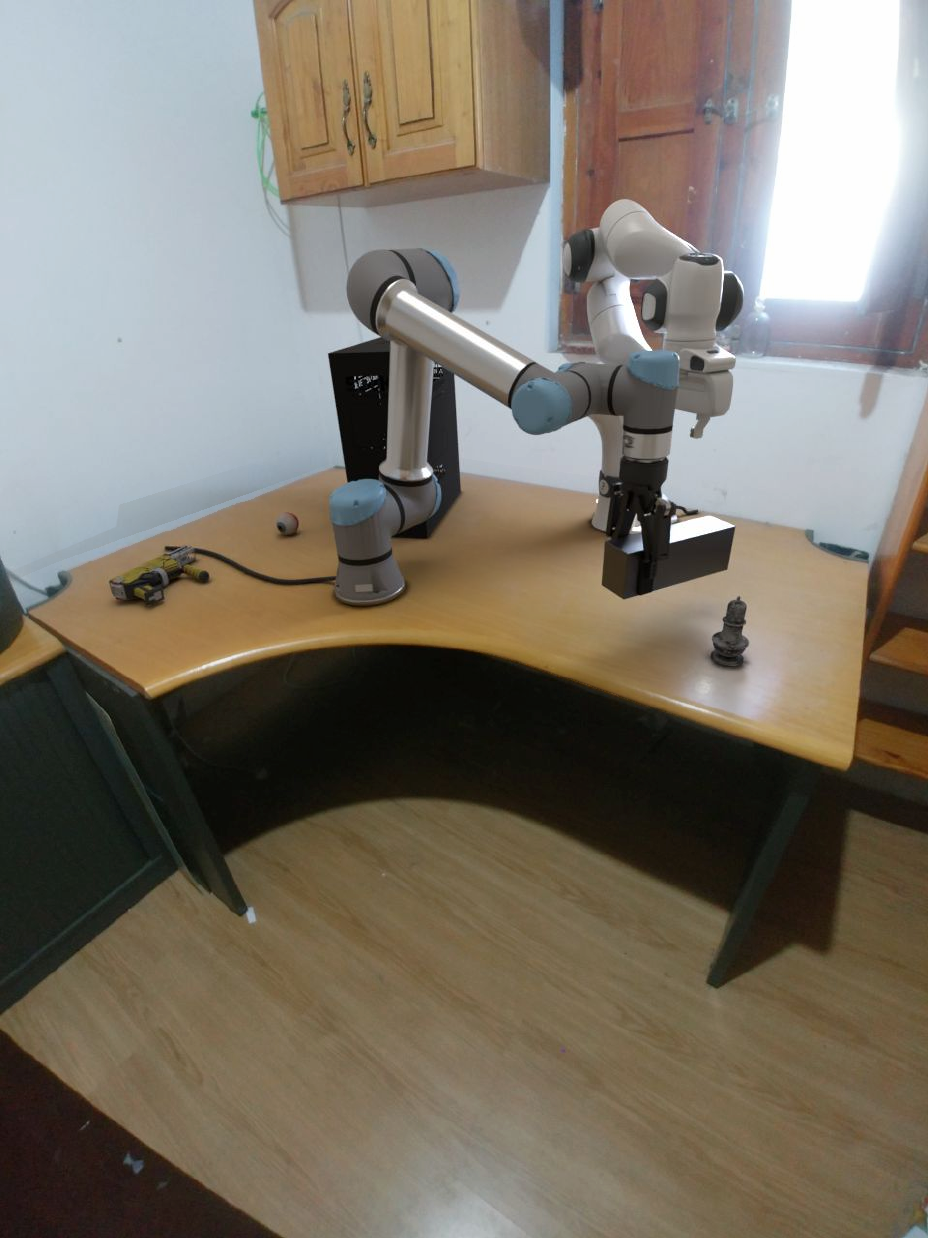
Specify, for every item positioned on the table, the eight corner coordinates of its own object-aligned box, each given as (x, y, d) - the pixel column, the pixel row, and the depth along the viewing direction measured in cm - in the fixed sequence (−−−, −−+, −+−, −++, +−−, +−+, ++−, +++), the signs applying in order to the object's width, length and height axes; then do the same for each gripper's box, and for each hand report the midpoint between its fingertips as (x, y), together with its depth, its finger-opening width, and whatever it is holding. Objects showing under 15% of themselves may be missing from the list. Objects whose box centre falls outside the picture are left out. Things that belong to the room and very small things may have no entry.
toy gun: (232, 553, 147) (182, 542, 151) (158, 593, 127) (102, 580, 131) (234, 570, 150) (185, 559, 154) (162, 613, 130) (107, 599, 134)
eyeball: (273, 537, 164) (268, 516, 161) (287, 528, 169) (282, 508, 166) (291, 539, 161) (286, 518, 158) (305, 530, 166) (301, 510, 163)
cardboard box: (427, 537, 157) (411, 350, 135) (355, 534, 162) (327, 353, 139) (460, 491, 189) (452, 333, 166) (399, 490, 194) (383, 336, 171)
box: (702, 557, 117) (709, 515, 113) (727, 569, 112) (735, 525, 108) (601, 585, 109) (604, 540, 105) (623, 599, 104) (628, 553, 100)
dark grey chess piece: (748, 668, 101) (762, 605, 95) (711, 665, 102) (722, 603, 96) (741, 649, 106) (754, 588, 100) (706, 647, 107) (717, 586, 101)
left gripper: (589, 447, 103) (582, 569, 114) (667, 475, 87) (650, 613, 99) (625, 440, 105) (615, 560, 117) (707, 466, 90) (686, 602, 101)
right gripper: (637, 353, 118) (630, 425, 125) (715, 363, 101) (703, 446, 108) (662, 349, 120) (655, 421, 127) (744, 359, 103) (730, 440, 110)
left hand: (631, 584), depth 108 cm, fingers closed on box, 6 cm apart
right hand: (678, 432), depth 117 cm, fingers open, 8 cm apart
